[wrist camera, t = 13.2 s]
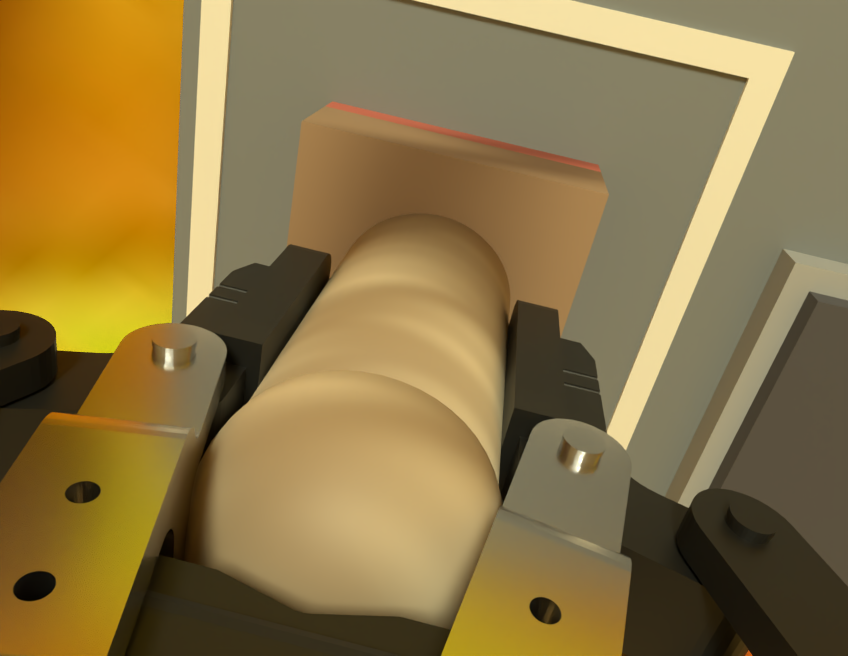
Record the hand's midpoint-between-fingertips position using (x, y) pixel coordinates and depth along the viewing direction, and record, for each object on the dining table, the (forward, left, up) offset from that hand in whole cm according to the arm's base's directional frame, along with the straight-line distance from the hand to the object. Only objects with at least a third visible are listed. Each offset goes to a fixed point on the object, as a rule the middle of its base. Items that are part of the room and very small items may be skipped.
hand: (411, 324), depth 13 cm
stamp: (0, 0, -3) cm, 3 cm away
